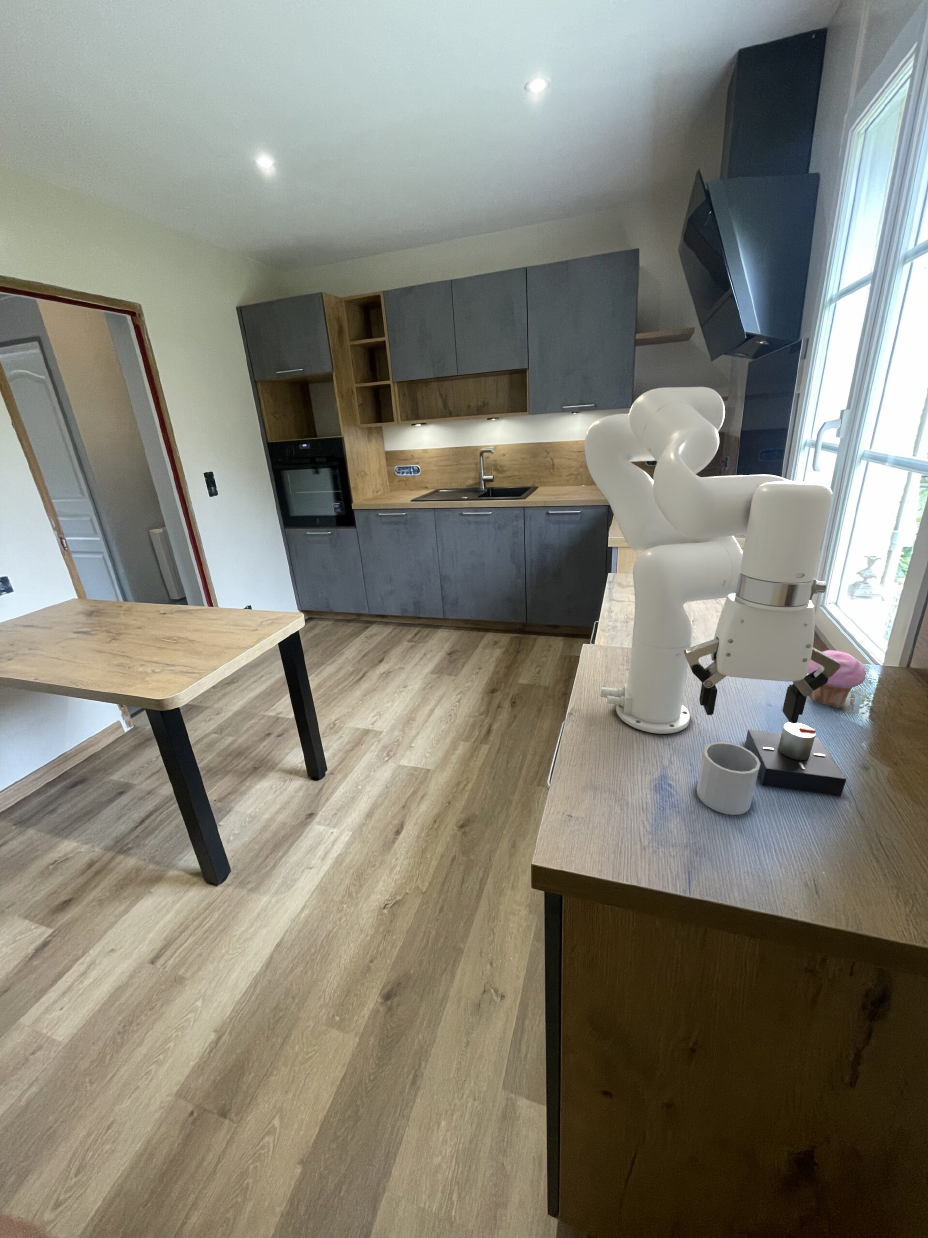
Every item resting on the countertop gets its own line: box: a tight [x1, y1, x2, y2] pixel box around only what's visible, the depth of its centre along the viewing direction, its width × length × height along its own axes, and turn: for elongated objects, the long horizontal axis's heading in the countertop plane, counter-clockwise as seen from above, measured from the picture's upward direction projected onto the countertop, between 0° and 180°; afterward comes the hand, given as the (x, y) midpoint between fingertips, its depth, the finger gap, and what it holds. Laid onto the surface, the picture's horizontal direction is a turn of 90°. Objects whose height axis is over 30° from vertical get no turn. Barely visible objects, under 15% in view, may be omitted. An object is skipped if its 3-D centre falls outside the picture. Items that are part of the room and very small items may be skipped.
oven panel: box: [744, 729, 847, 797], centre depth 74 cm, size 10×10×3 cm
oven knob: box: [778, 721, 817, 760], centre depth 72 cm, size 4×4×4 cm
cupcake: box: [807, 649, 867, 709], centre depth 90 cm, size 9×9×10 cm
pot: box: [696, 741, 760, 816], centre depth 68 cm, size 7×7×7 cm
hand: (747, 713), depth 64 cm, fingers open, 9 cm apart
